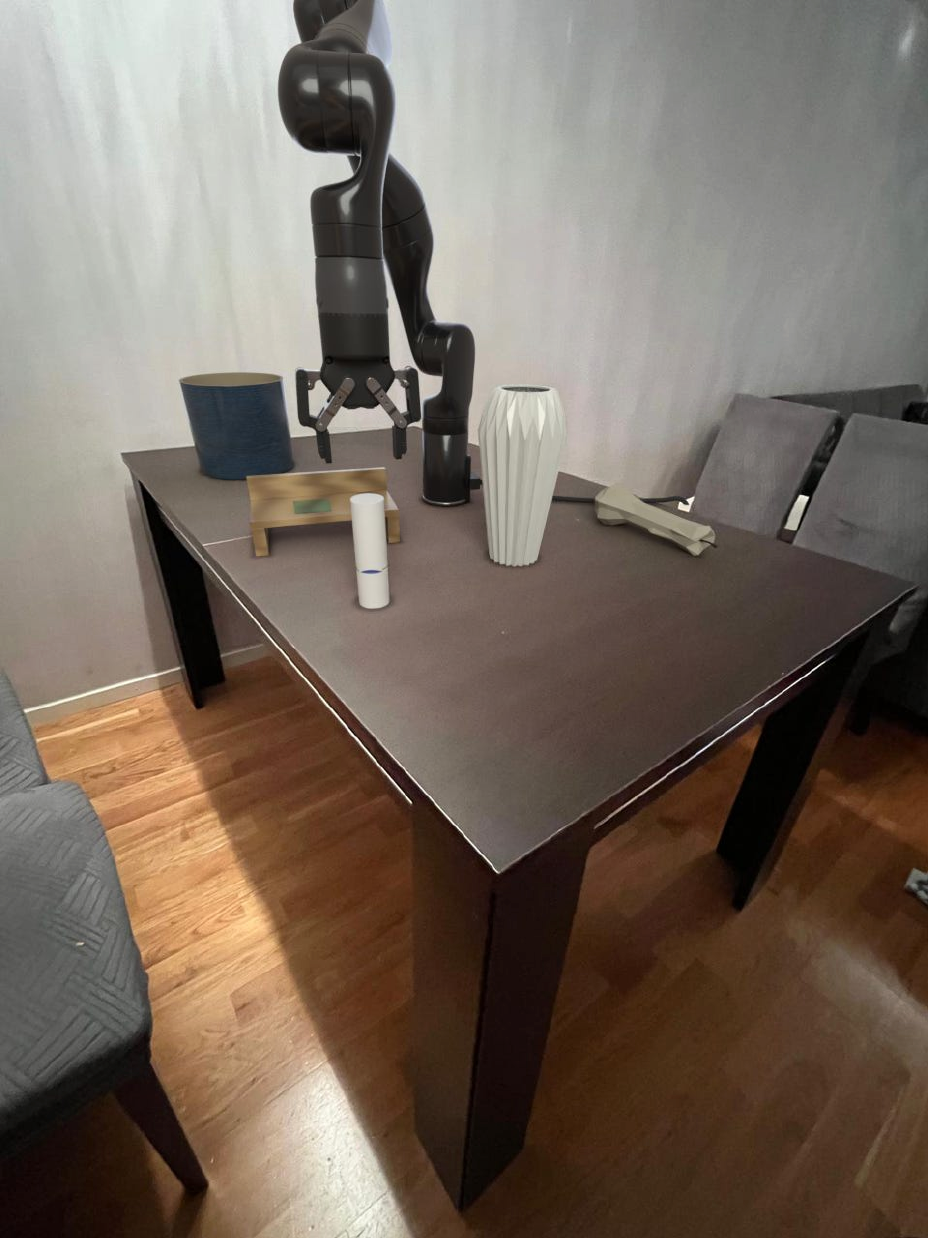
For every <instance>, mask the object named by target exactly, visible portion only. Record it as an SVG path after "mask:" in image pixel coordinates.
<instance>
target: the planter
mask: <svg viewBox="0 0 928 1238" xmlns="http://www.w3.org/2000/svg"><path fill="white" fill-rule="evenodd" d="M178 384H179V389H180V392H181V396H182V401H183V404H184V405H183V406H184V409H185V413H186V417H187V421H188V426H189V430H190V433H191V437H192V439H193V444H194V448H195V452H196V454H197V459H198V463H199V467H200V471H201V473H202V474H203V475H204V476H207V477H210V478H213V479H217V480H229V481H232V480H233V481H243V480H246V481H247V479H246V477H247V476H254V475H270V474H285V473H286V472H288V471H289V470H291V469H292V468H293V467H294V456H293V448H292V447H293V446H292V438H291V430H290V419H289V409H288V403H287V401H288V400H287V395H286V394H287V393H286V386H285V379H284V376H282V375H279V374H275V373H267V372H248V371H247V372H242V371H241V372H240V371H238V372H212V373H201V374H194V375H188V376H183V377H181V378H179V379H178Z"/></svg>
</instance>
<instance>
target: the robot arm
mask: <svg viewBox="0 0 928 1238" xmlns="http://www.w3.org/2000/svg"><path fill="white" fill-rule="evenodd" d="M384 3H385V2H384V0H293V3H292V12H293V18H294V23H295V27H296V31H297V34H298V38H299V41H300V43H297V44H295V45H294V46H291V48H290V49H288V51H287V52H286V54H285V55H284V57H283V60H282V61H281V65H280V68H279V73H278V79H277V102H278V108H279V109H278V110H279V112H280V117H281V120H282V123H283V126H284V128H285V130H286V131H287V133H288V135H289V137H290V139H292V141H293V142H294V143H295V144H296V145H297V146H298V147H299V148H301V149H302V150H304V151H305V152H308V153H311V154H315V155H316V154H317V155H332V156H333V155H334V156H345V157H346V159H347V162H348V165H349V168H350V171H351V173H352V176H350V177H349V178H347V179H344V180H341V181H338V182H332V183H329V184H324V185H321V186H318V187H316V188H315V189H314V190H312V193H311V194H310V198H309V199H310V200H309V209H310V220H311V221H310V223H311V230H312V240H313V251H314V257H315V258H314V288H315V289H314V290H315V297H316V298H315V303H316V309H317V318H318V329H319V338H320V348H321V360H322V361H321V366H320V369H306V368H304V367H297V368H295V370H294V382H295V395H296V397H295V398H296V409H297V419H298V423H299V424H300V426H301V427H307V428H310V429H312V430H314V431H315V437H316V443H317V444H316V445H317V453H318V455H319V457H320V459H321V460H324V461H325V464H328V465H329V464H333V458H332V457H333V456H332V448H331V438H330V431H329V429H328V427H329V425H330V424H331V422H332V421H333V419H334V418H335V416H336V415H337V414H338V412H339V411H340V409H341V407H342V408H344V409H346V410H349V411H350V410H357V409H360V408H362V409H367V410H374V409H375V408H377V407H378V406H380V407H381V408H382V409H383V410H384V411H385V413H386V414H387V415H388V417H389V418H390V419H391V420H392V422H393V425H391V433H392V434H391V435H392V454H393V457H394V459H395V460H403V455H406V453H407V451H408V448H407V447H408V446H407V444H408V443H407V428H408V426H409V425H412V424H413V423H418V422H420V421H421V430H422V431H421V432H422V434H421V435H422V436H421V437H422V438H421V439H422V488H423V489H422V493H423V494H422V500H423V502H425V503H426V504H429V505H432V506H438V507H454V506H459V505H462V504H465V503H470V502H471V491H476V490H477V491H478V490H481V486H483V482H482V477H480V476H479V475H477V474H476V473H475V472H474V471H472V456H471V455H470V454H469V425H470V424H469V423H470V407H471V402H472V398H473V393H474V392H473V391H474V390H473V389H474V376H475V365H476V364H475V363H476V342H475V337H474V333H473V331H472V329H471V328H470V326H469V325H467V324H466V323H462V322H451V321H438V320H437V319H436V317H435V314H434V311H433V308H432V305H431V301H430V297H429V289H428V286H429V285H428V284H429V277H430V272H431V270H432V269H431V268H432V263H433V259H434V253H435V252H434V251H435V235H434V234H435V233H434V230H433V226H432V225H433V224H432V222H431V218H430V215H429V211H428V207H427V204H426V200H425V197H424V194H423V193H424V192H423V191H422V188H421V186H420V184H419V182H418V181H417V180H416V178H415V177H414V176H413V175H412V174H411V172H409V170H408V169H407V168H406V167H405V166H404V165H403V164H402V163H401V162H400V161H399V160H398V159H397V158H396V157H395V156H394V155H393V154H392V153H391V152H390V149H391V145H392V139H393V136H394V135H393V134H394V130H395V123H396V116H397V95H396V88H395V84H394V81H393V78H392V76H391V73H390V71H389V67H391V64H392V62H393V56H394V55H393V54H394V45H393V37H392V32H391V31H392V30H391V26H390V22H389V18H388V13H387V10H386V6H385V4H384ZM385 270H386V272H385ZM386 273H387V276H388V279H389V282H390V285H391V288H392V291H393V294H394V297H395V300H396V304H397V306H398V309H399V313H400V318H401V321H402V325H403V329H404V333H405V337H406V340H407V344H408V348H409V352H410V355H411V357H412V360H413V362H414V364H415V367H416V368H417V369H416V368H414V367H412V366H411V365H406V366H405V367H404V368H393V366H392V364H391V363H392V362H391V352H390V351H391V349H390V327H389V306H390V305H389V304H390V302H389V297H388V286H387V285H388V284H387V278H386V277H387V276H386ZM418 370H419V371H420V372H421V373H423V374H425V375H427V376H432V377H439V378H441V385H440V390H438V392H436V393H435V394H432V395H429V396H426V397H424V398H423V399H422V402H421V394H420V392H421V391H420V380H419V378H420V377H419V371H418ZM395 380H397V381H398V383H399V386H400V387H402V388H403V389H404V393H405V403H406V404H405V406H406V411H404V412H400V410H399V409H398V408H397V406H396V405H395V403H394V402H393V401H392V399H391V398H390V397H389V395H388V392H389V390H390V389H391V387H392V385H393V384H394V382H395ZM318 381H320V382H321V383H322V384H323V385H324V387H325V388H326V389H327V391H328V392H329V394H328V396H327V397H326V399H325V401H324V402H323V403H322V407H321V408H320V410H319V411H318V413H317V415H313V414H310V399H309V398H310V397H309V391H313V390H315V387H316V383H317V382H318ZM639 499H640V500H641V501H642V502H644V503H646V504H665V503H670V502H680V503H682V505H684V506H690V503H689V501H688V500H687V499H686V498H684V497H683V496H679V495H673V496H667V497H647V498H646V497H644V498H639ZM642 499H643V500H642ZM551 501H555V502H556V501H557V502H569V503H586V504H595V497H594V498H593V497H577V496H576V497H575V496H564V495H553V496H552V500H551Z"/></svg>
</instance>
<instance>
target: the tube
mask: <svg viewBox="0 0 928 1238" xmlns="http://www.w3.org/2000/svg"><path fill="white" fill-rule="evenodd" d="M350 506H351V517H352V520H351V526H352V527H351V528H352V539H353V550H354V559H355V560H354V561H355V568H356V569H355V570H356V571H355V572H356V583H357V595H358V604H359V605H360V607H362V608H365V609H372V610H373V609H382V608H383V607H386V606H387V605H389V603H390V584H389V567H388V549H387V538H386V529H385V511H384V497H383V496H381V495H378V494H371V493H365V494H358V495H355V496H352V497H351V498H350Z"/></svg>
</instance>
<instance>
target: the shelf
mask: <svg viewBox="0 0 928 1238" xmlns="http://www.w3.org/2000/svg"><path fill="white" fill-rule="evenodd" d="M386 471H387V469H386V468H385V466H381V467H379V466H378V467H365V468H364V467H363V468H351V469H335V470H319V471H318V470H317V471H303V472H301V471H300V472H287V473H286V472H284V473H281V474H270V475H254V476H247V477H246V483H247V489H248V494H249V500H250V502H249V503H250V504H249V505H250V507H249V509H250V510H249V527H250V531H251V537H252V541H253V547H254V552H255V557H257V558H259V557H267V556H270V552H269V551H270V545H269V543H270V542H269V529H270V528H280V527H291V526H303V525H315V524H324V523H325V524H326V523H335V522H347V521H348V522H349V521H352V517H351V506H350V498H351V497H352V496H355V495H358V494H365V493H371V494H378V495H381V496H383V497H384V511H385V529H386V541H387V542H388V544H394V543H401V532H400V531H401V529H400V509H399V508H398V506H397V504H396V503H395V501H394V499H393V498H392V496H391V494H390V493H389V492H388V488H387V486H388V485H387V472H386Z"/></svg>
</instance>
